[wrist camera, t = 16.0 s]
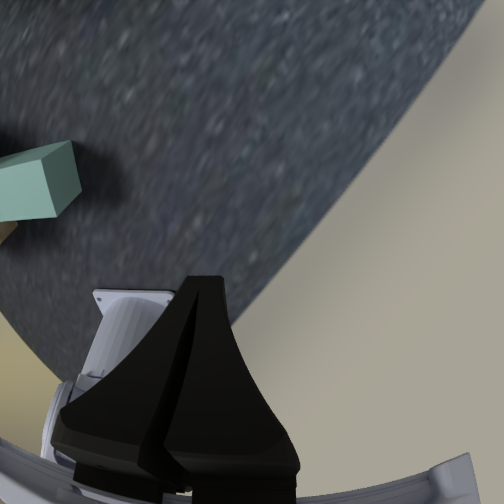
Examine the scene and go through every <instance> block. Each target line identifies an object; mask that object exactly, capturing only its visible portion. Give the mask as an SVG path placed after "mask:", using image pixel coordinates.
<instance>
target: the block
mask: <svg viewBox="0 0 504 504" xmlns="http://www.w3.org/2000/svg"><path fill="white" fill-rule="evenodd" d="M17 226H18V223H17V220H14V221H3V222H0V244H1V243H2V242H3V241H4V240H5V239H6V238H7V237H8V236H9V234H10V233H11V232H12V231H13V230H14V229H15V228H16V227H17Z"/></svg>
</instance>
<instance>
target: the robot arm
mask: <svg viewBox="0 0 504 504" xmlns="http://www.w3.org/2000/svg"><path fill="white" fill-rule="evenodd" d="M93 295H94V298H95V300H96V302H97V304H98V306H99V308H100V310H101V312H102V314H103V316H104V317H103V319H102V321H101V324H100V326H99V329H98V331H97V333H96V336H95V338H94V341H93V343H92V346H91V349H90V351H89V354H88V356H87V359H86V362H85V364H84V367H83V370H82V373H81V374H79V376H78V379H77V382H76V384H75V387H73V386H74V383H73V382H71V381H69V380H67V381H66V382H64V383H61V384H59V386H58V388H57V390H56V392H55V394H54V397H53V399H52V402H51V405H50V408H49V411H48V414H47V418H46V422H45V426H44V431H43V436H42V443H43V445H42V451H41V455H40V457H39V456H37V455H35V454H32V453H30V452H28V451H26V450H23V449H22V448H20V447H17V446H15V445H13V444H12V443H10V442H8V441H6V440H4V439H2V438H0V499H2V500H3V501H4V502H5V503H7V504H480V499H479V493H478V488H477V483H476V478H475V474H474V469H473V465H472V461H471V457H470V453H468V452H467V453H465V454H462V455H460V456H458V457H455V458H453V459H450V460H448V461H445V462H443V463H440V464H438V465H436V466H434V467H432V468H430V469H429V470H428V471H425V472H422V473H419V474H416V475H413V476H409V477H406V478H403V479H400V480H396V481H392V482H388V483H384V484H380V485H376V486H371V487H367V488H362V489H357V490H352V491H346V492H341V493H334V494H327V495H320V496H311V497H301V498H296V487H297V483H296V475H297V473H298V472H299V470H300V461H299V458H298V455H297V453H296V450H295V448H294V446H293V444H292V442H291V440H290V438H289V436H288V434H287V432H286V430H285V428H284V427H283V426H282V425H281V423H280V422H279V420H278V419H277V417H276V416H275V414H274V413H273V412H272V410H271V409H270V407H269V405H268V404H267V402H266V401H265V399H264V398H263V396H262V394H261V393H260V391H259V389H258V387H257V385H256V384H255V382H254V380H253V378H252V376H251V375H250V373H249V370H248V368H247V366H246V364H245V362H244V360H243V358H242V356H241V353H240V351H239V348H238V346H237V343H236V341H235V338H234V335H233V332H232V329H231V326H230V323H229V319H228V315H227V304H226V295H225V286H224V278H223V277H222V276H187V277H186V278H185V279H184V281H183V283H182V284H181V286H180V287H179V289H178V291H177V292H176V294H175V295H174V293H173V292H171V291H143V290H108V289H95V290H94V292H93ZM169 300H171V301H169ZM190 491H192V496H183V495H176V492H178V493H185V492H190Z"/></svg>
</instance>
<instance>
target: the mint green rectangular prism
mask: <svg viewBox="0 0 504 504" xmlns="http://www.w3.org/2000/svg"><path fill="white" fill-rule="evenodd" d="M81 192H82V189H81V184H80V180H79V176H78V172H77V167H76V163H75V158H74V153H73V148H72V143H71V140H69V141H64V142H60V143H55V144H51V145H46V146H42V147H38V148H34V149H30V150H26V151H22V152H19V153H15V154H11V155H8V156H5V157H1V158H0V222H3V221H14V220H26V219H38V218H51V217H57V216H58V215H59V214H60V213H61V212H62V211H63V210H64V209H65V208H66V207H67V206H68V205H69V204H70V203H71V202H72V201H73V200H74V199H75V198H76V197H77V196H78V195H79V194H80V193H81Z"/></svg>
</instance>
